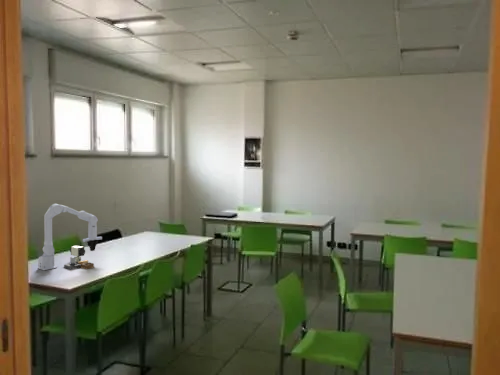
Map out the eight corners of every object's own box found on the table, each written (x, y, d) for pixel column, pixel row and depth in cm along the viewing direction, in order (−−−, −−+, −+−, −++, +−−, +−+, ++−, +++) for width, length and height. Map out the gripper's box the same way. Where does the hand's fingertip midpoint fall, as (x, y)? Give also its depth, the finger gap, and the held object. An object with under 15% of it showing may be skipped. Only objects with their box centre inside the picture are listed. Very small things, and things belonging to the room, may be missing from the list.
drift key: (79, 266, 296) (79, 262, 296) (77, 266, 298) (77, 261, 297) (88, 264, 302) (88, 260, 302) (86, 264, 303) (86, 260, 303)
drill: (72, 268, 291) (72, 258, 291) (69, 267, 293) (69, 257, 293) (76, 267, 294) (76, 257, 293) (73, 266, 296) (73, 256, 295)
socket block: (70, 269, 288) (70, 266, 288) (64, 267, 293) (64, 264, 292) (81, 267, 294) (81, 264, 294) (74, 265, 299) (74, 262, 299)
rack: (86, 269, 290) (86, 265, 290) (80, 267, 294) (80, 263, 294) (94, 267, 295) (94, 263, 295) (88, 265, 299) (89, 262, 299)
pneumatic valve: (79, 263, 306) (80, 246, 305) (69, 261, 312) (69, 244, 311) (86, 261, 311) (86, 245, 310) (76, 259, 317) (76, 243, 316)
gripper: (86, 233, 296) (86, 253, 297) (104, 231, 308) (104, 249, 309) (80, 232, 301) (80, 251, 301) (98, 230, 312) (98, 248, 313)
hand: (92, 250), depth 305 cm, fingers closed
